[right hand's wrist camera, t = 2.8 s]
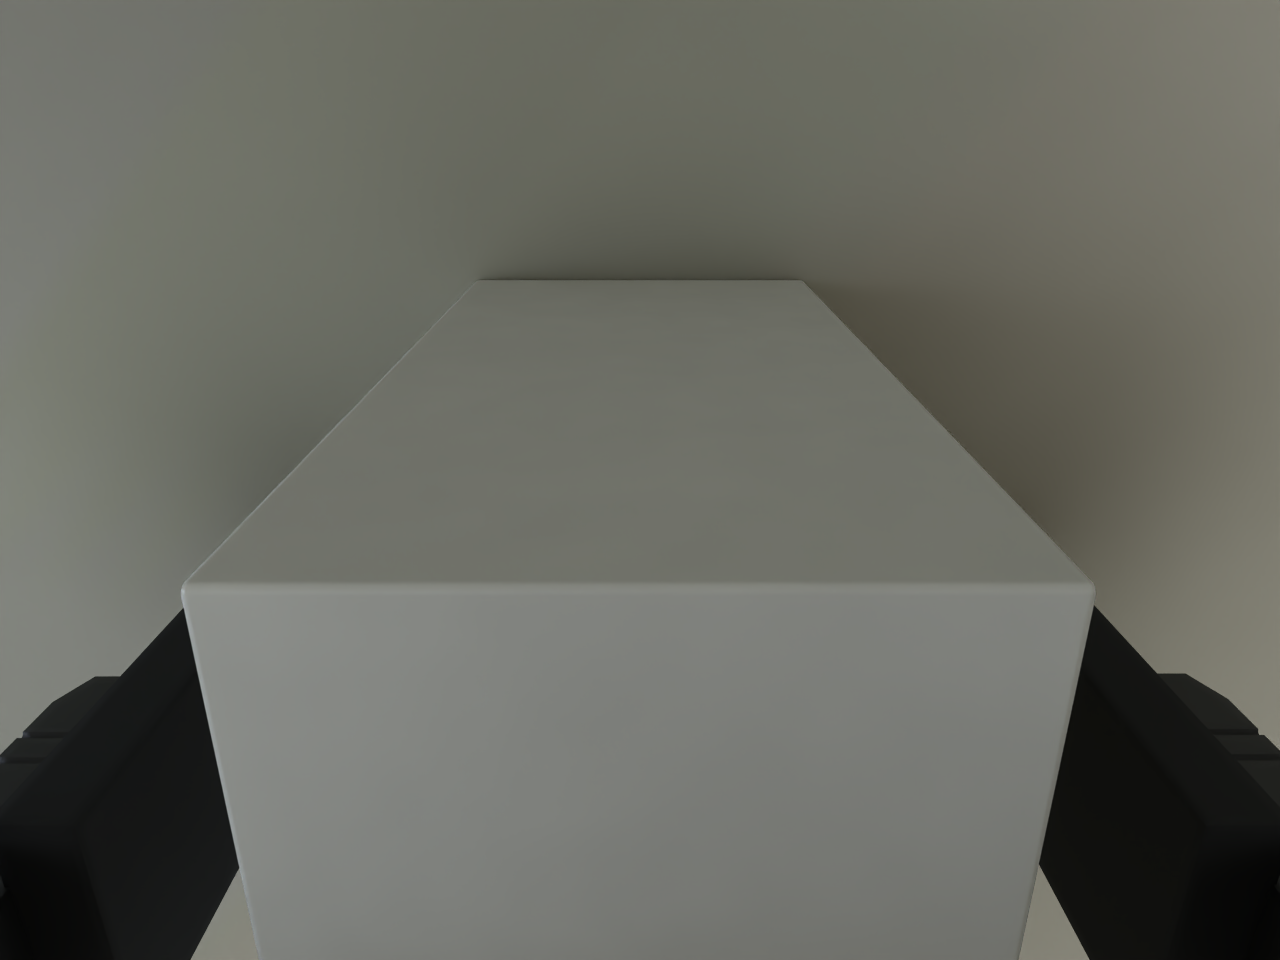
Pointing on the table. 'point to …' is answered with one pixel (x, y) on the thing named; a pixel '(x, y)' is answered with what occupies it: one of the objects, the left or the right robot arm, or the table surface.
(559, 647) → the bar
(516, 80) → the table surface
